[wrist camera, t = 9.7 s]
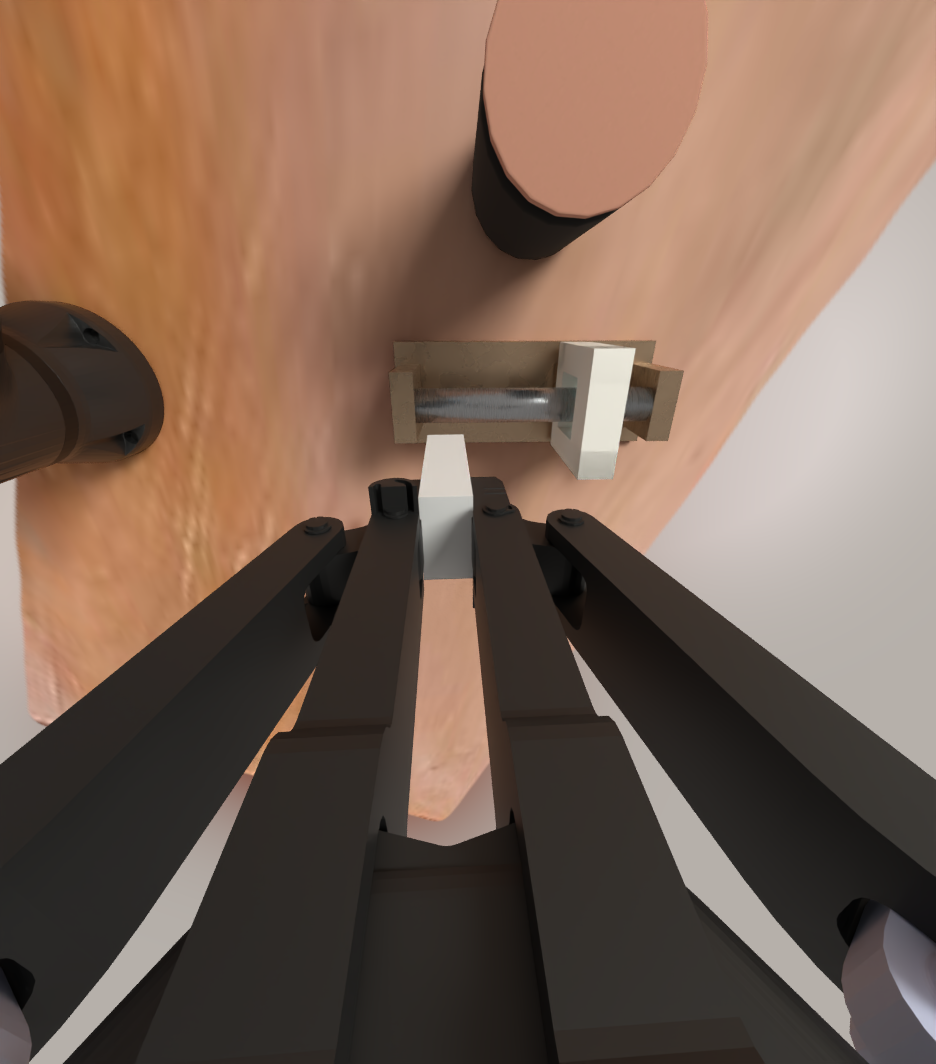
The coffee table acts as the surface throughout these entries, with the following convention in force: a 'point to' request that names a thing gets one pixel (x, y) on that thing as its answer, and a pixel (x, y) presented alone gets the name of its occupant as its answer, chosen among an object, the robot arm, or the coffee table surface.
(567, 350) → the collar
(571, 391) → the rail
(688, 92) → the coffee jar
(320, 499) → the coffee table surface
